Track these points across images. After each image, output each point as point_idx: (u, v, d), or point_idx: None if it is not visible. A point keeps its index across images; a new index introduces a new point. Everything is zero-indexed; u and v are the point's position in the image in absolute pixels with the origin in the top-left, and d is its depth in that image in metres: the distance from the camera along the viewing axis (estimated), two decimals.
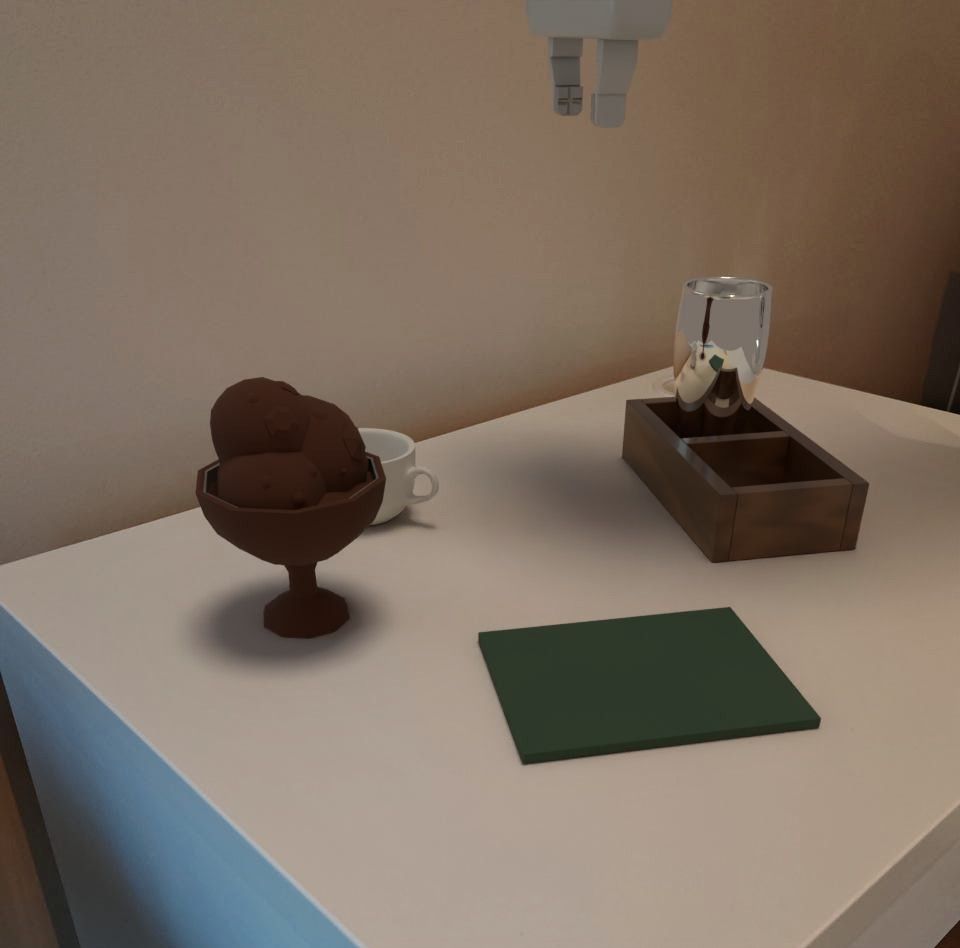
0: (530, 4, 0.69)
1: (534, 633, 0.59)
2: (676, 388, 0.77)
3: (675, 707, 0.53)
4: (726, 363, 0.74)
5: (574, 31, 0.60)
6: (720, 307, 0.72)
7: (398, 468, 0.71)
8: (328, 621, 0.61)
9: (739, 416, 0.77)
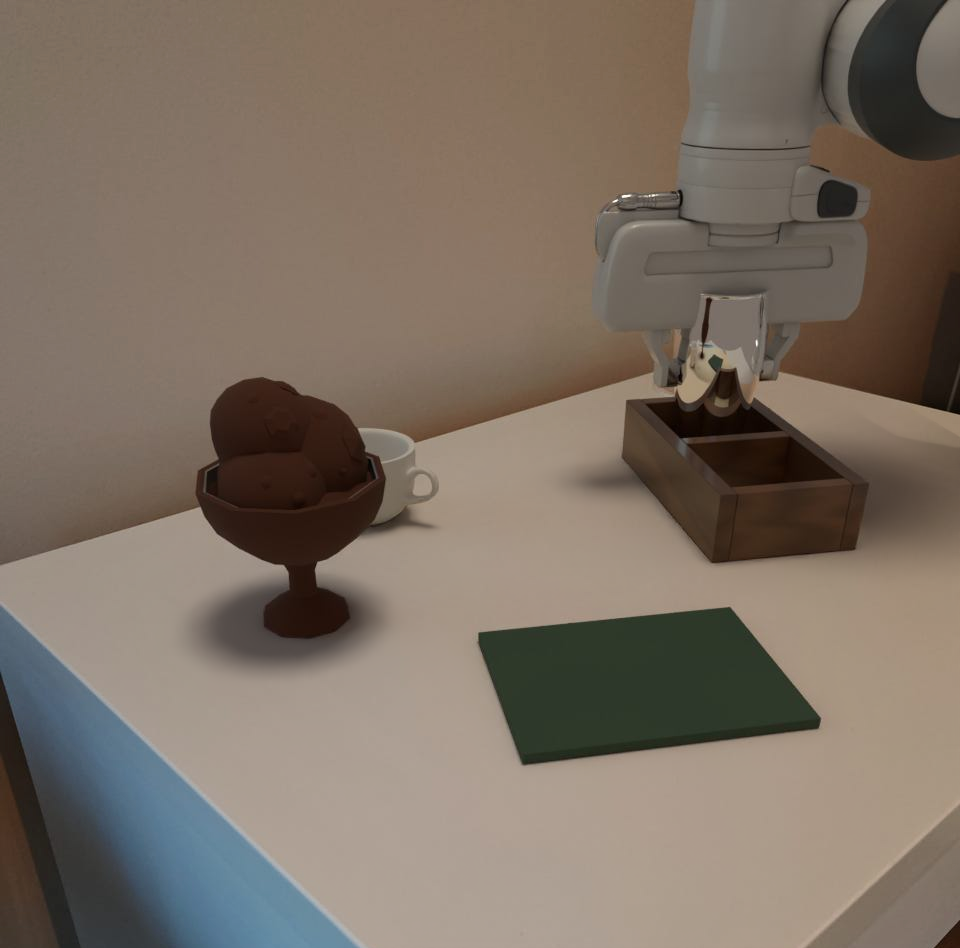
0: None
1: (534, 633, 0.59)
2: (675, 388, 0.78)
3: (675, 707, 0.53)
4: (726, 363, 0.74)
5: None
6: (719, 307, 0.72)
7: (398, 468, 0.71)
8: (328, 621, 0.61)
9: (739, 416, 0.77)
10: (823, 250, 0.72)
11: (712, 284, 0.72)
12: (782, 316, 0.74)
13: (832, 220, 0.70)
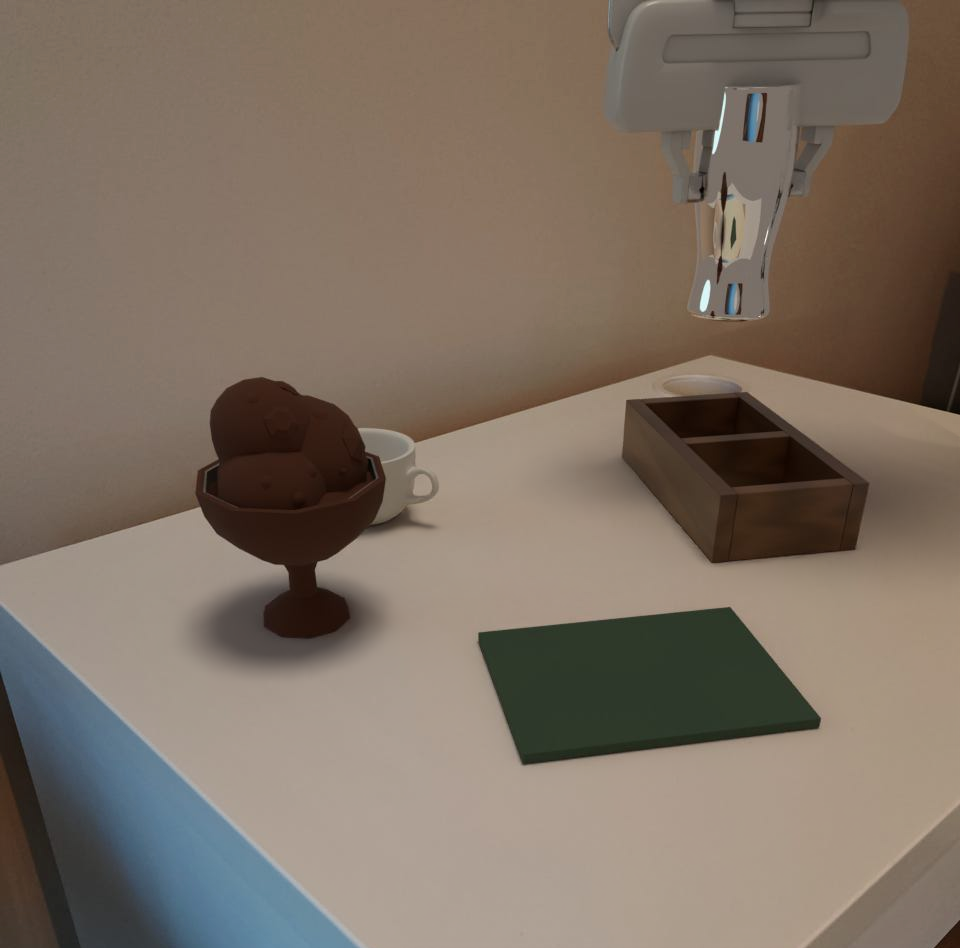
0: None
1: (534, 633, 0.59)
2: (697, 207, 0.71)
3: (675, 707, 0.53)
4: (753, 168, 0.67)
5: None
6: (745, 101, 0.65)
7: (398, 468, 0.71)
8: (328, 621, 0.61)
9: (767, 235, 0.70)
10: (859, 38, 0.65)
11: (737, 75, 0.65)
12: (815, 116, 0.67)
13: None
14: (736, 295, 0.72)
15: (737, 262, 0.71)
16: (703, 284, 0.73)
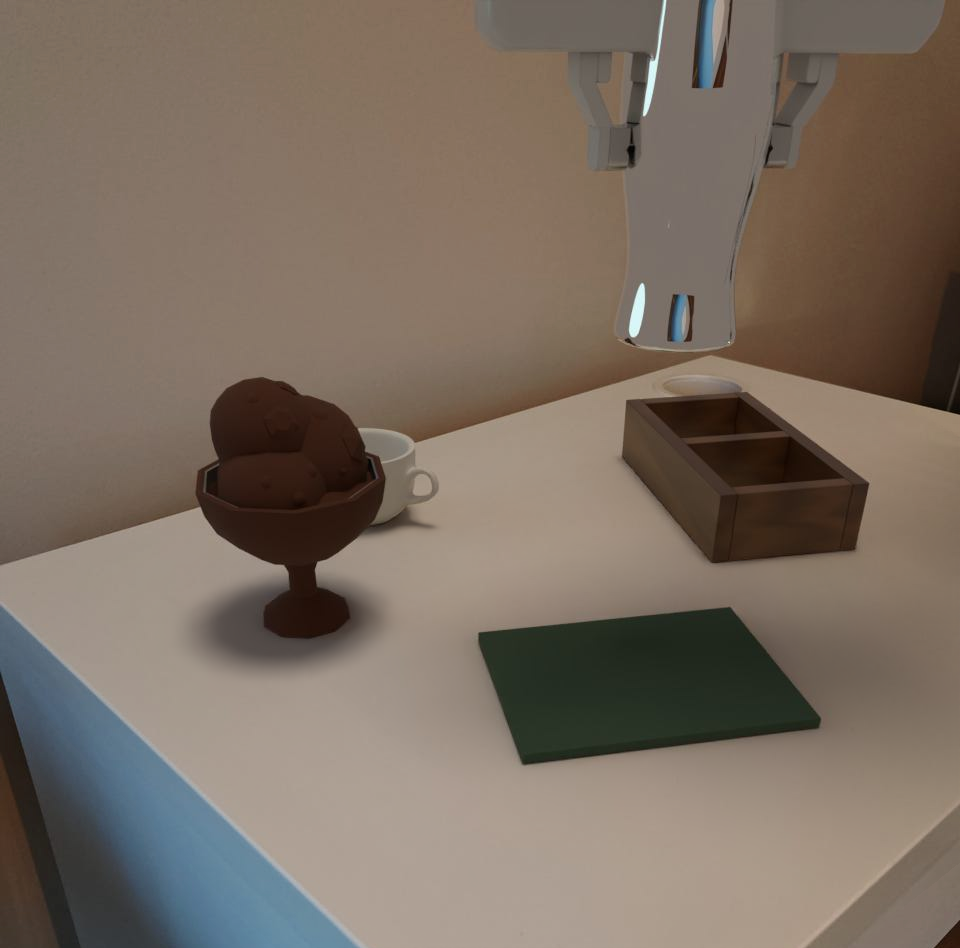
0: None
1: (534, 633, 0.59)
2: (624, 177, 0.46)
3: (675, 707, 0.53)
4: (707, 113, 0.42)
5: None
6: (696, 2, 0.40)
7: (398, 468, 0.71)
8: (328, 621, 0.61)
9: (730, 221, 0.45)
10: None
11: None
12: (808, 36, 0.43)
13: None
14: (684, 314, 0.47)
15: (685, 262, 0.46)
16: (635, 295, 0.48)
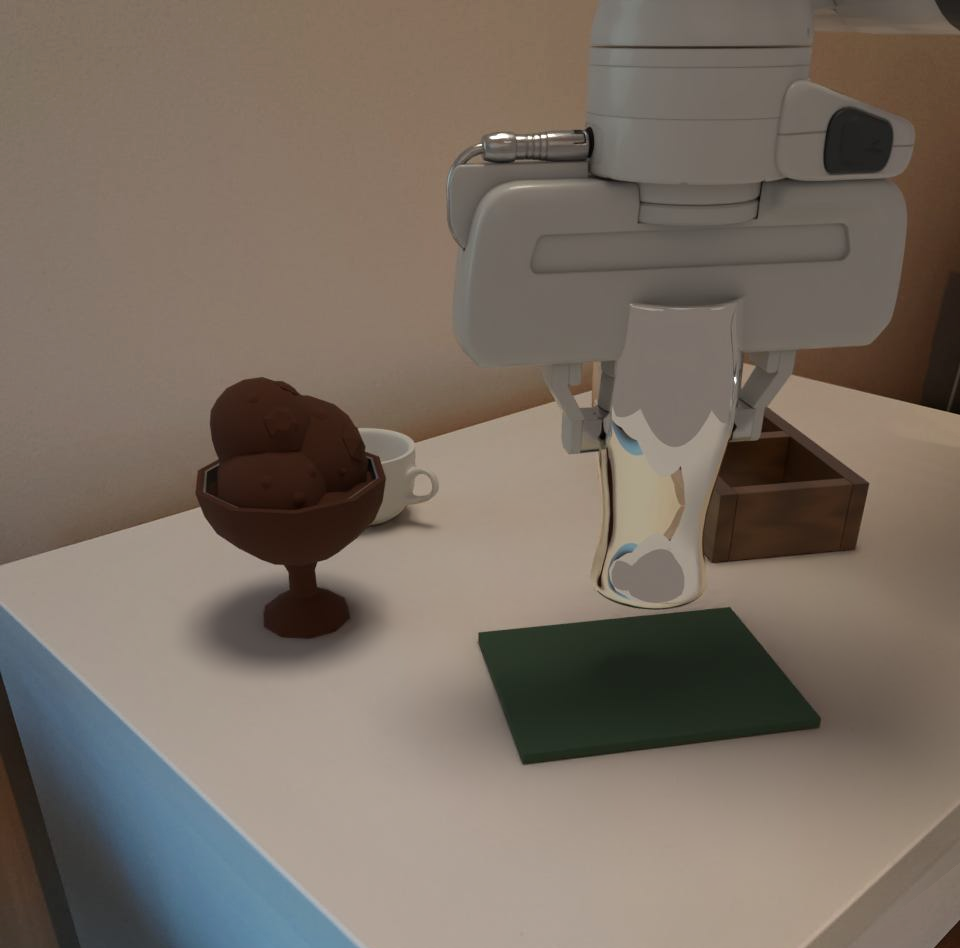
0: None
1: (534, 633, 0.59)
2: (597, 453, 0.49)
3: (675, 707, 0.53)
4: (672, 418, 0.45)
5: None
6: (659, 326, 0.43)
7: (398, 468, 0.71)
8: (328, 621, 0.61)
9: (697, 498, 0.48)
10: (833, 232, 0.43)
11: (647, 287, 0.43)
12: (766, 340, 0.45)
13: (849, 179, 0.41)
14: (655, 576, 0.50)
15: (655, 534, 0.49)
16: (609, 554, 0.51)
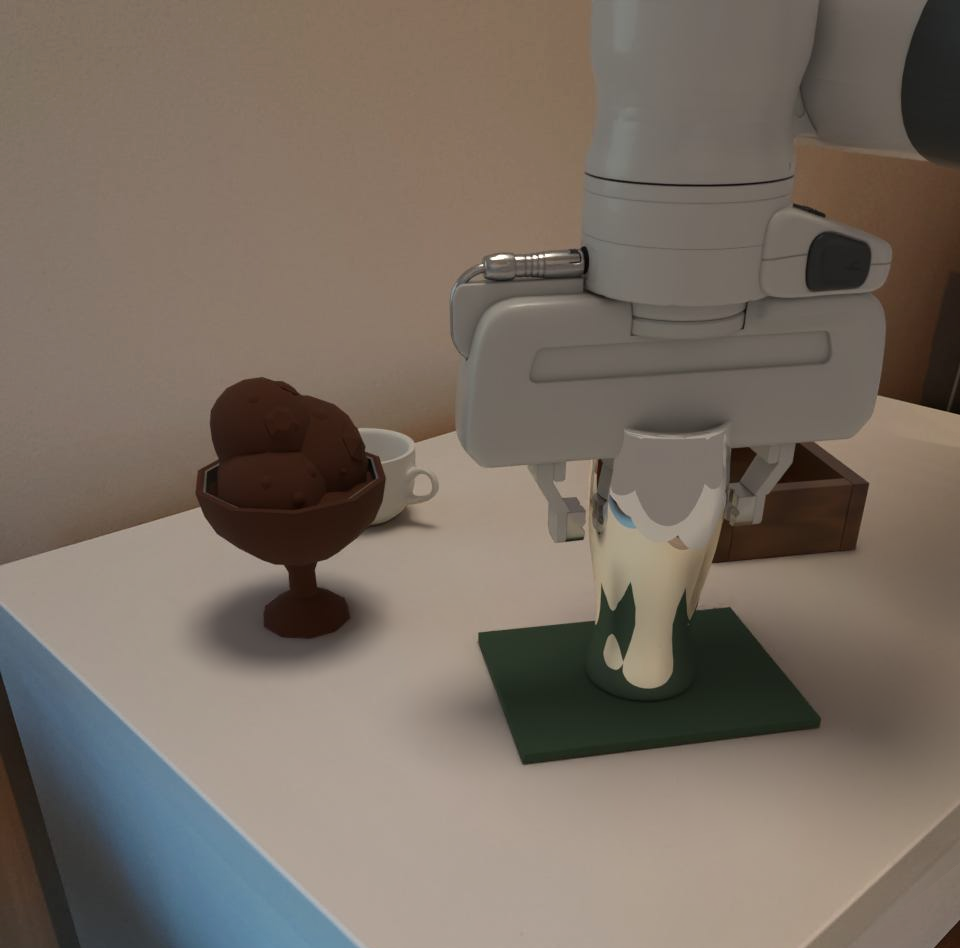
0: None
1: (534, 633, 0.59)
2: (592, 556, 0.52)
3: (675, 707, 0.53)
4: (663, 532, 0.48)
5: None
6: (650, 451, 0.46)
7: (398, 468, 0.71)
8: (328, 621, 0.61)
9: (686, 600, 0.51)
10: (816, 338, 0.46)
11: (640, 393, 0.45)
12: (753, 437, 0.48)
13: (830, 294, 0.43)
14: (646, 670, 0.53)
15: (647, 633, 0.52)
16: (603, 648, 0.54)
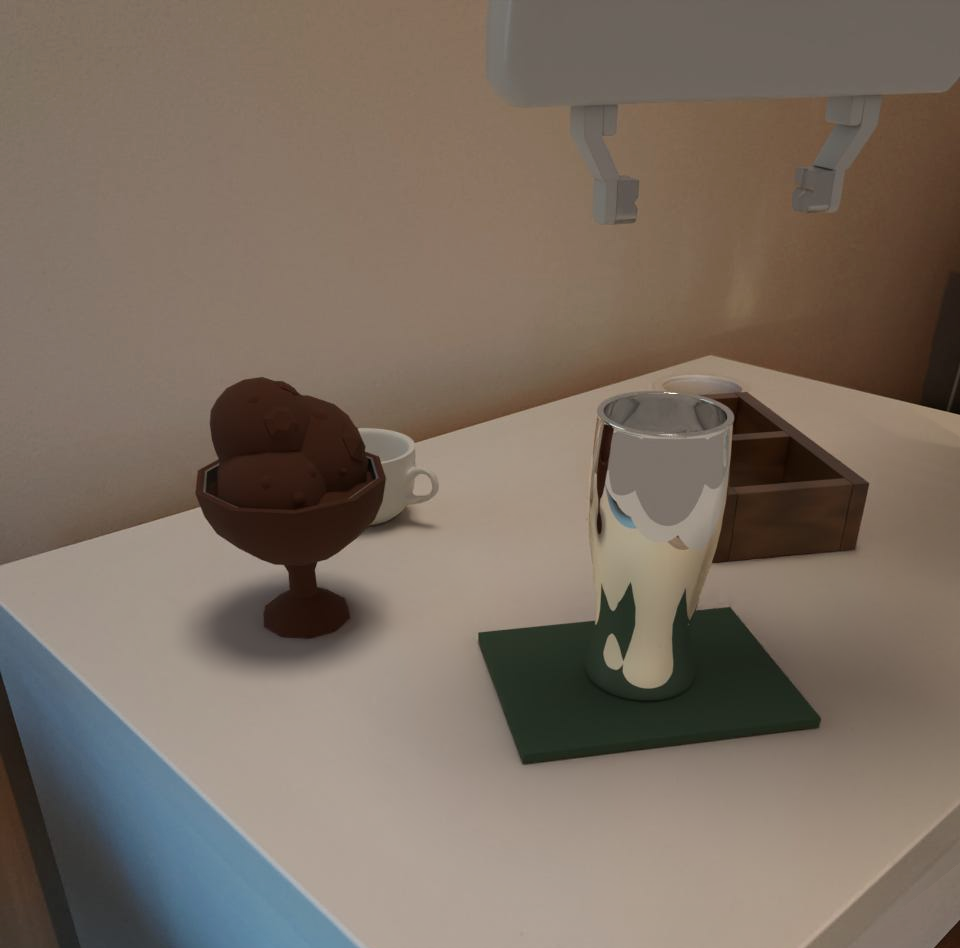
0: (543, 51, 0.38)
1: (534, 633, 0.59)
2: (592, 556, 0.52)
3: (675, 707, 0.53)
4: (663, 532, 0.48)
5: (809, 88, 0.41)
6: (650, 451, 0.46)
7: (398, 468, 0.71)
8: (328, 621, 0.61)
9: (686, 600, 0.51)
10: None
11: None
12: None
13: None
14: (646, 670, 0.53)
15: (647, 633, 0.52)
16: (603, 648, 0.54)
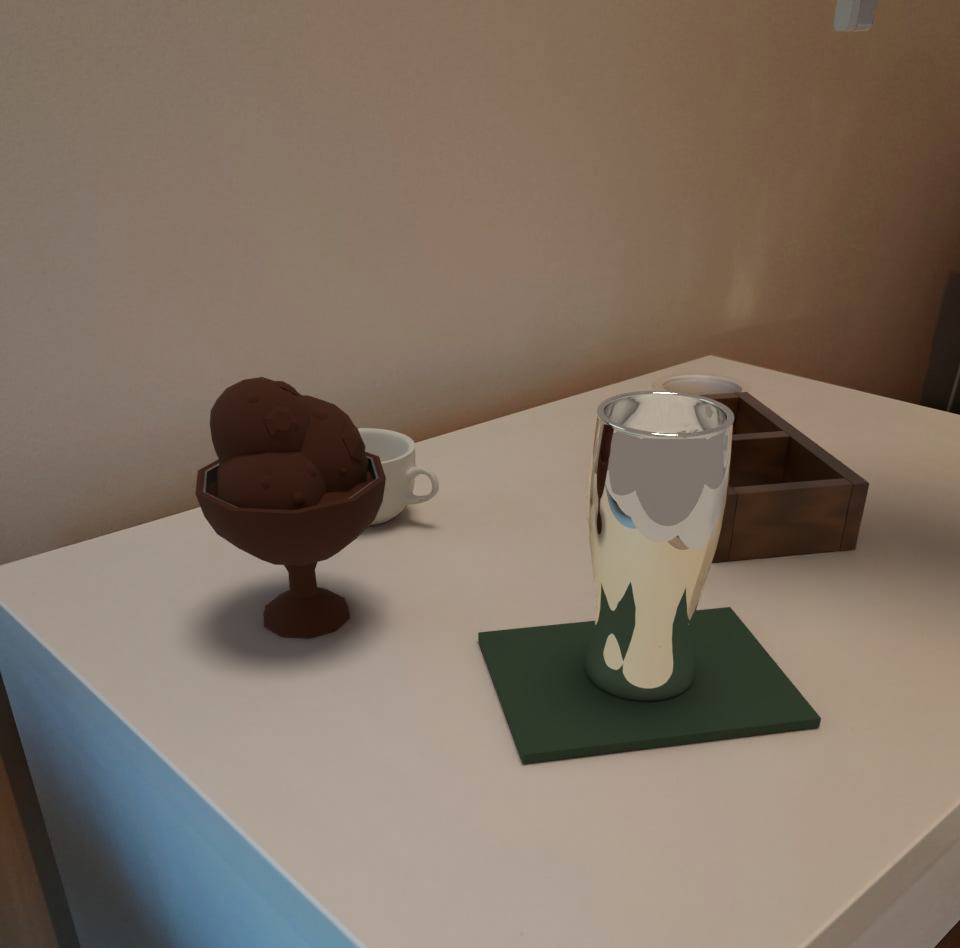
0: None
1: (534, 633, 0.59)
2: (592, 556, 0.52)
3: (675, 707, 0.53)
4: (663, 532, 0.48)
5: None
6: (650, 451, 0.46)
7: (398, 468, 0.71)
8: (328, 621, 0.61)
9: (686, 600, 0.51)
10: None
11: None
12: None
13: None
14: (646, 670, 0.53)
15: (647, 633, 0.52)
16: (603, 648, 0.54)
